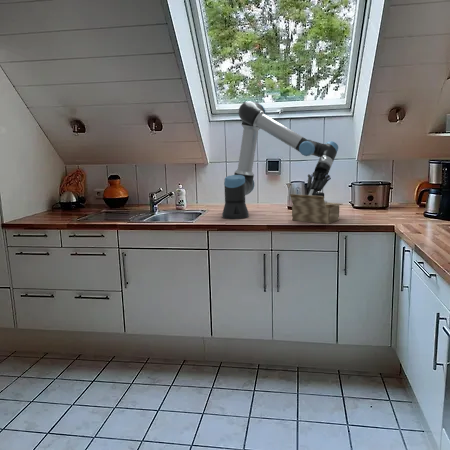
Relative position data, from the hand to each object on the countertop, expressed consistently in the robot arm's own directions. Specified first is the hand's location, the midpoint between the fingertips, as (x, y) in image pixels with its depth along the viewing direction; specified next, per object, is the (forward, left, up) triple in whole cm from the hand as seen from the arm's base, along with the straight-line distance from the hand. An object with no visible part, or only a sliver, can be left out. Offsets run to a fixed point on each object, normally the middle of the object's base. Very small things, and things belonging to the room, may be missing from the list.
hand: (308, 200), depth 231 cm
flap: (0, +1, -4) cm, 4 cm away
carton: (0, +11, -12) cm, 16 cm away
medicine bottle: (-10, +30, -12) cm, 34 cm away
